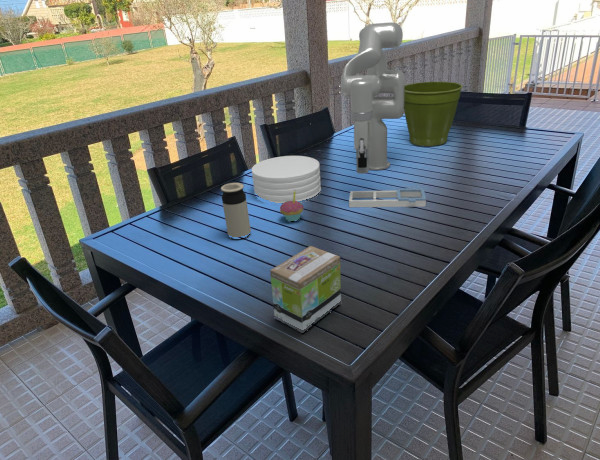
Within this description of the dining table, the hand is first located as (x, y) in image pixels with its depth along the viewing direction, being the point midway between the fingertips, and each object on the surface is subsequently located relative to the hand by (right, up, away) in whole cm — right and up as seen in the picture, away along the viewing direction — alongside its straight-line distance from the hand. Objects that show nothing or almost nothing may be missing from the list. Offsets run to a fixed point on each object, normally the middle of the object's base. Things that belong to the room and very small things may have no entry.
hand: (362, 164), depth 165 cm
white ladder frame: (+10, -14, +5) cm, 17 cm away
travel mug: (-44, -26, -11) cm, 53 cm away
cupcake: (-26, -21, -3) cm, 34 cm away
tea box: (-21, -45, -53) cm, 73 cm away
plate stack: (-28, -9, +22) cm, 37 cm away
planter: (0, -3, +1) cm, 3 cm away
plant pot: (+45, +22, +71) cm, 87 cm away
